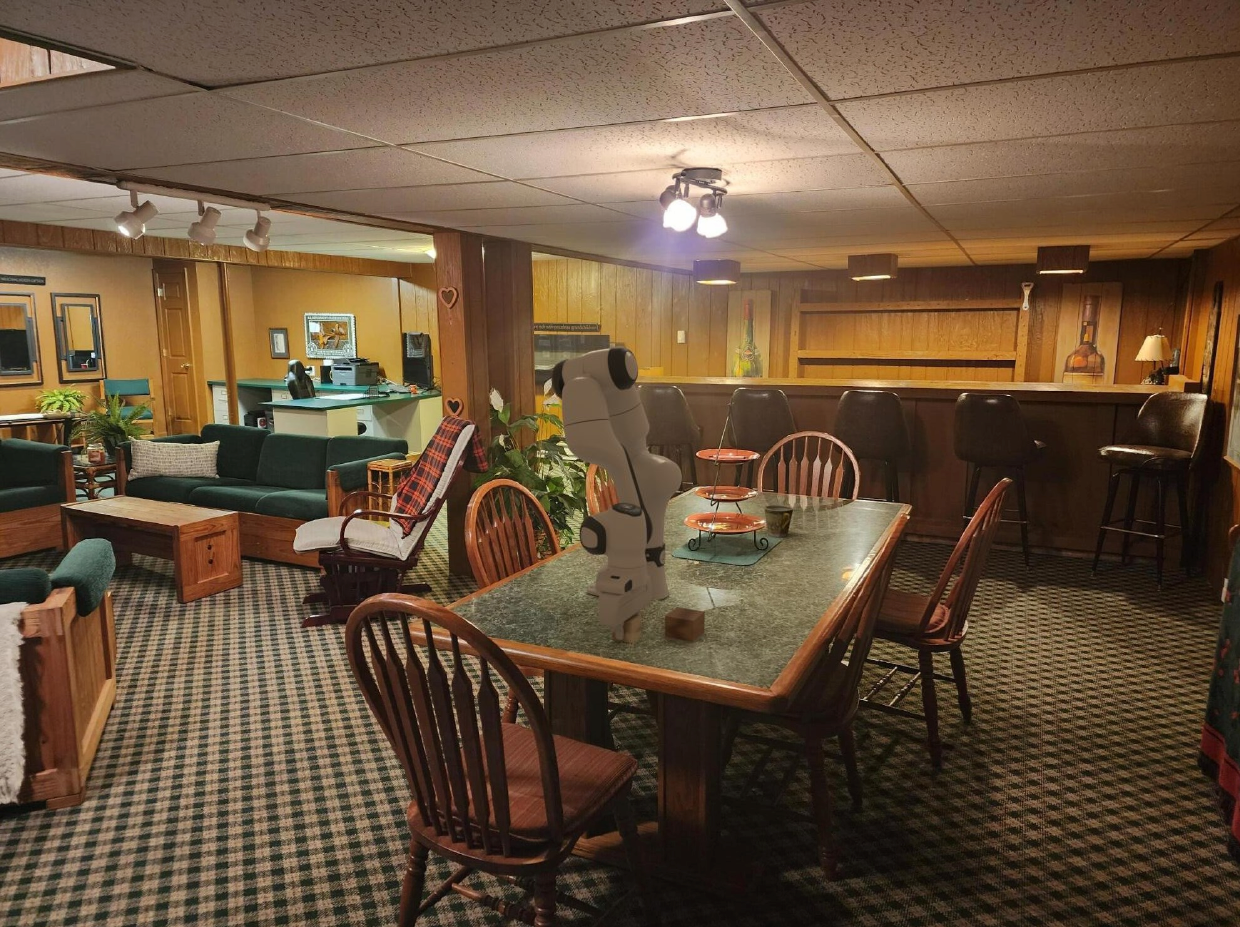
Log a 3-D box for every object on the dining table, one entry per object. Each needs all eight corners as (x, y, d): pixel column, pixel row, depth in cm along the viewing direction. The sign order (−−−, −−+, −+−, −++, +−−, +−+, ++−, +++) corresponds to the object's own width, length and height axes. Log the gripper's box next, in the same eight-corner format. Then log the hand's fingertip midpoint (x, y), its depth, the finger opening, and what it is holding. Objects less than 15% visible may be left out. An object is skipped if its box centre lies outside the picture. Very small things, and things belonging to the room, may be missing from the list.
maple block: (612, 644, 183) (612, 619, 182) (622, 637, 187) (622, 612, 186) (631, 648, 181) (631, 622, 180) (641, 641, 185) (641, 616, 184)
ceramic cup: (758, 532, 289) (759, 505, 288) (783, 531, 292) (784, 504, 291) (776, 541, 277) (777, 513, 276) (801, 539, 280) (802, 511, 279)
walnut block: (664, 636, 184) (665, 615, 184) (676, 627, 190) (676, 606, 190) (693, 641, 181) (693, 620, 180) (704, 632, 187) (704, 611, 187)
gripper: (634, 562, 192) (634, 617, 194) (593, 585, 174) (593, 646, 176) (658, 565, 189) (658, 622, 191) (619, 589, 171) (619, 651, 173)
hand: (626, 633), depth 184 cm, fingers closed on maple block, 5 cm apart
